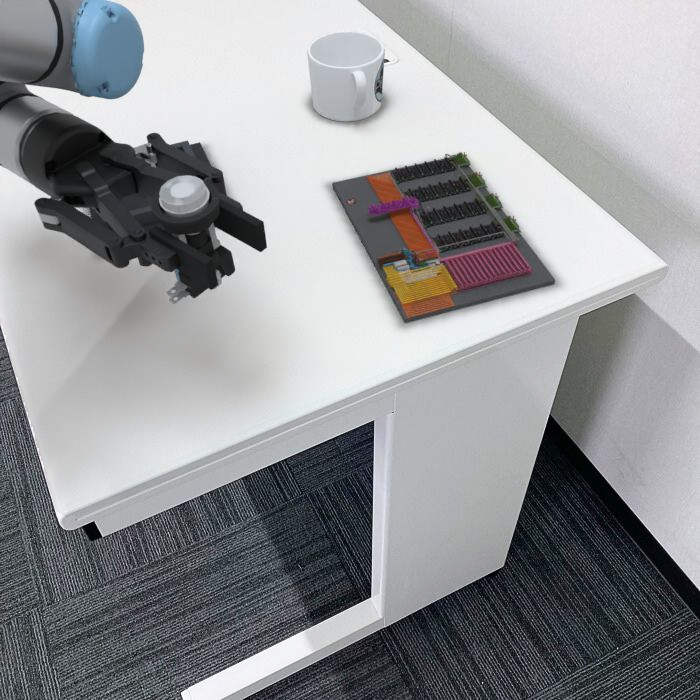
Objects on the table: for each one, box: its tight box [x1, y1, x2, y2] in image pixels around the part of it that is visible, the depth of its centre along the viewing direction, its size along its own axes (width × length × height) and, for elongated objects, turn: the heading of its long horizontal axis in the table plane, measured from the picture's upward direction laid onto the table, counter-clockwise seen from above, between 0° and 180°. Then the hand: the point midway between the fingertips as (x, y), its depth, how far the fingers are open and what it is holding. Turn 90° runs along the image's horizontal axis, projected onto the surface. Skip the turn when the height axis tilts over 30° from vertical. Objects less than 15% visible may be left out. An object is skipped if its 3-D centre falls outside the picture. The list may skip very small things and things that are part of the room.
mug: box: [306, 30, 386, 122], centre depth 102 cm, size 13×10×8 cm
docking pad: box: [88, 140, 212, 236], centre depth 91 cm, size 16×16×3 cm
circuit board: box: [331, 151, 556, 324], centre depth 86 cm, size 25×18×3 cm
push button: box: [151, 175, 236, 305], centre depth 61 cm, size 7×5×10 cm
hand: (237, 255), depth 58 cm, fingers closed on push button, 5 cm apart
